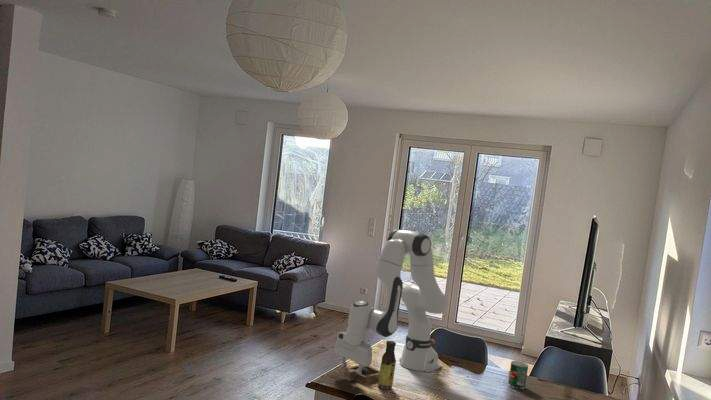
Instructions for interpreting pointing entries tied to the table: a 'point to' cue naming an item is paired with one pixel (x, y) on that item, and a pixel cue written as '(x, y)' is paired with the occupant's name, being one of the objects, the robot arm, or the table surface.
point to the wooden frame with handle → (352, 374)
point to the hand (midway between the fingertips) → (350, 369)
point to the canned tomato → (518, 374)
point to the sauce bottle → (387, 367)
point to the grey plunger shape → (364, 371)
